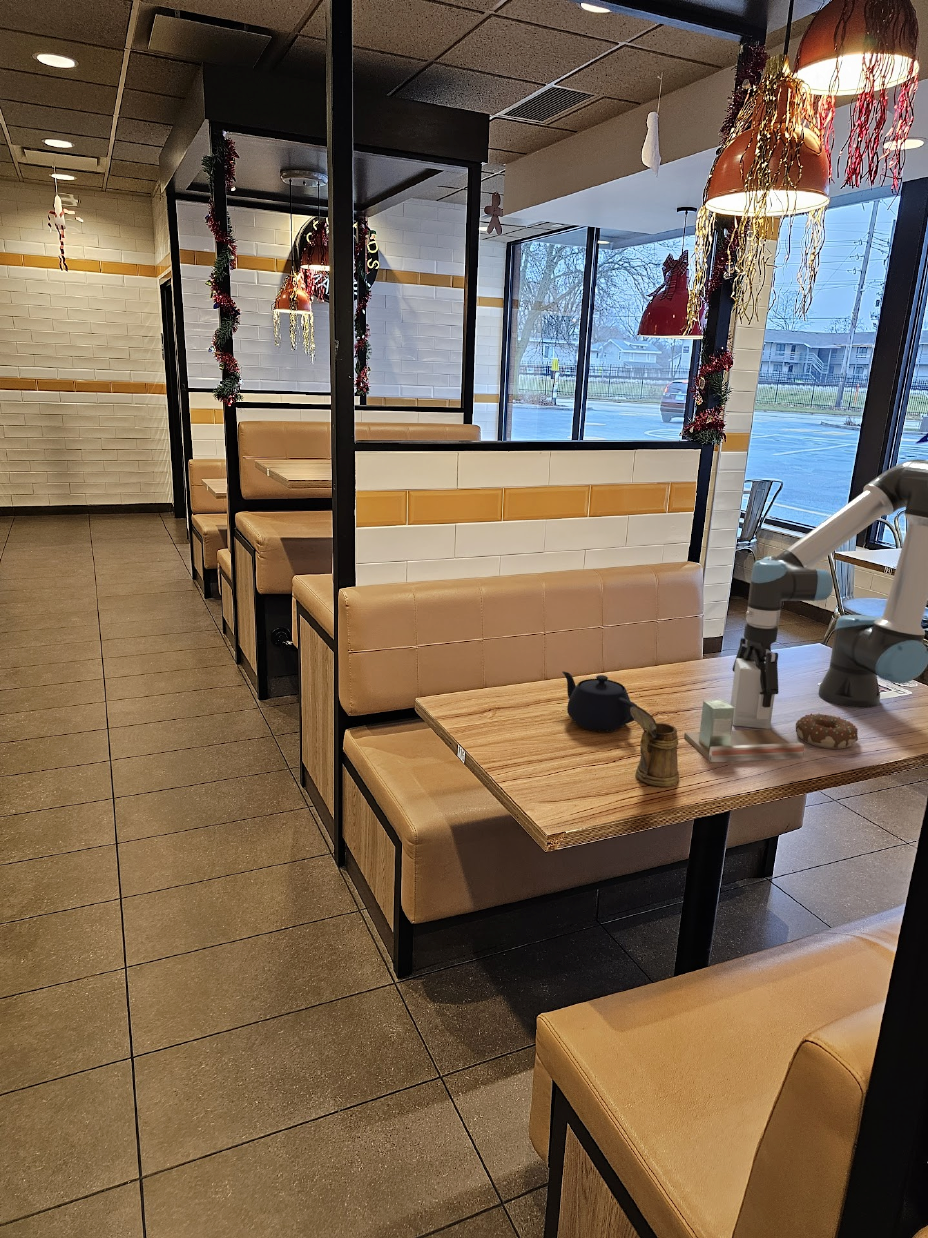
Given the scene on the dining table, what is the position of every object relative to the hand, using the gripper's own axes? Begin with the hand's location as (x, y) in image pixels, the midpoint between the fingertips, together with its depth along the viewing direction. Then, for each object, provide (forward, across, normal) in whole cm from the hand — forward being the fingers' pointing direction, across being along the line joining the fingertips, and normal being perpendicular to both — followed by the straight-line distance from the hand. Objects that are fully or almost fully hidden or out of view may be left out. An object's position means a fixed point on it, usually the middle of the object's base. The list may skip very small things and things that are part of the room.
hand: (750, 710), depth 207 cm
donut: (+3, +12, +13) cm, 18 cm away
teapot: (+3, -3, -39) cm, 39 cm away
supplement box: (+3, 0, 0) cm, 3 cm away
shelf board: (+3, +15, -10) cm, 18 cm away
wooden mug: (+3, +29, -38) cm, 48 cm away
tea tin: (+2, +16, -17) cm, 24 cm away
